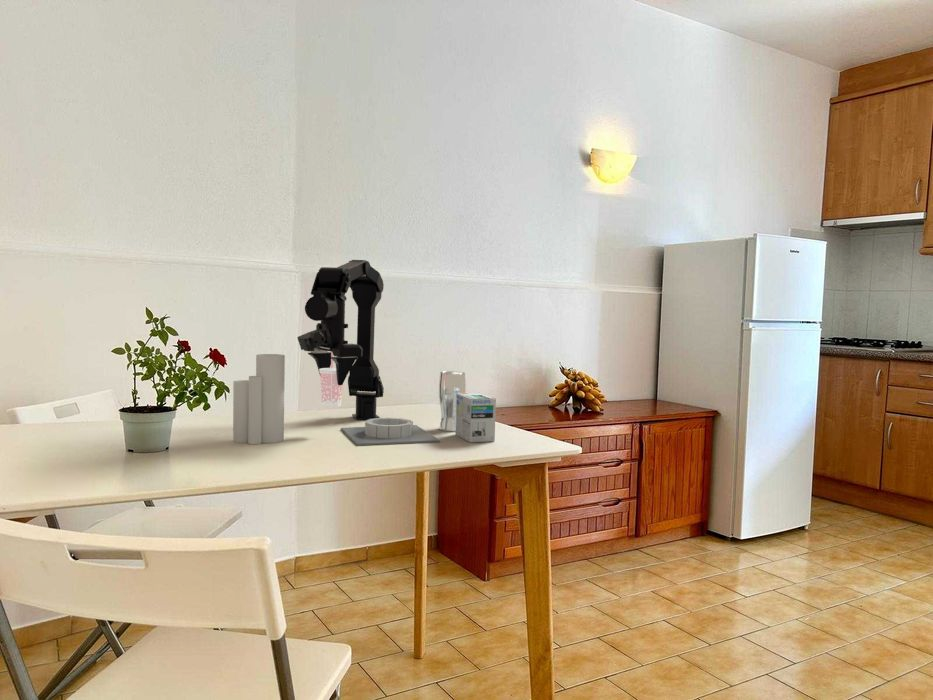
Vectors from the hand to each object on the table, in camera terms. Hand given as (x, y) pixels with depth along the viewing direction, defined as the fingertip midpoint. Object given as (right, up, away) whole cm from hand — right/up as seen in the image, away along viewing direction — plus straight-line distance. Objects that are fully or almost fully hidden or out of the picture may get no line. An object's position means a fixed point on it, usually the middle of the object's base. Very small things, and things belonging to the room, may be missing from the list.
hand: (331, 383), depth 179 cm
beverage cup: (0, -6, 0) cm, 6 cm away
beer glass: (+29, -13, +13) cm, 34 cm away
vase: (-15, -13, -8) cm, 22 cm away
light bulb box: (+35, -14, +3) cm, 38 cm away
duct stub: (+14, -13, +2) cm, 19 cm away
